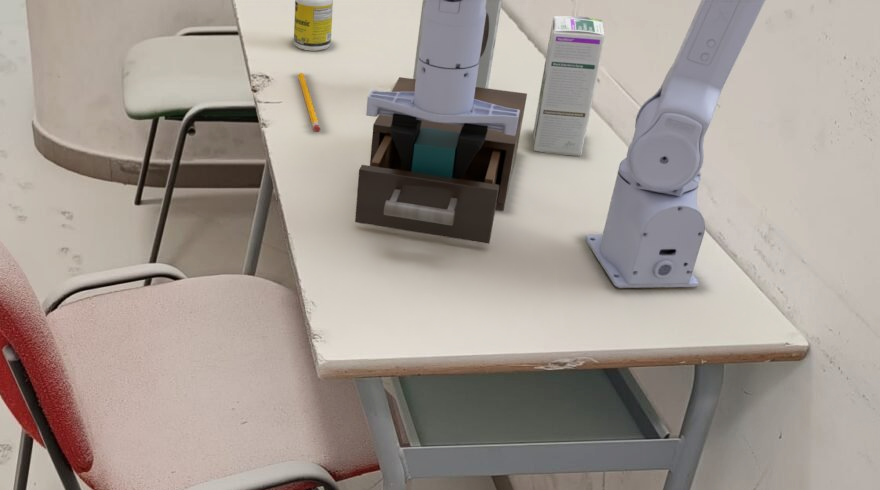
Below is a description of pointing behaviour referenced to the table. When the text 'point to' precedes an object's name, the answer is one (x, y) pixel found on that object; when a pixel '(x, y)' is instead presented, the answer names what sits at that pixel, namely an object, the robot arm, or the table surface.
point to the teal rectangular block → (435, 152)
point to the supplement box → (487, 42)
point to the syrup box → (568, 84)
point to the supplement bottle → (313, 24)
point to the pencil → (309, 103)
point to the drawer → (429, 196)
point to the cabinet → (492, 138)
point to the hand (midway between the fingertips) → (432, 189)
